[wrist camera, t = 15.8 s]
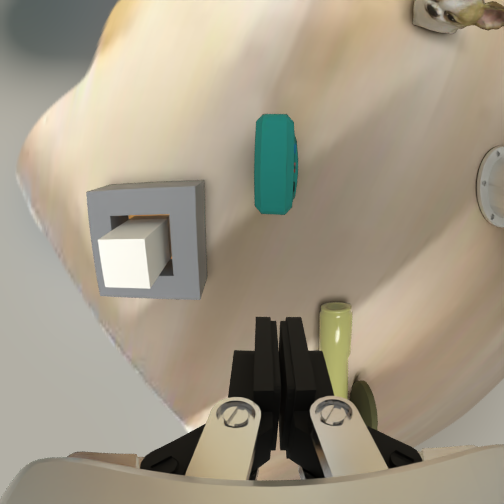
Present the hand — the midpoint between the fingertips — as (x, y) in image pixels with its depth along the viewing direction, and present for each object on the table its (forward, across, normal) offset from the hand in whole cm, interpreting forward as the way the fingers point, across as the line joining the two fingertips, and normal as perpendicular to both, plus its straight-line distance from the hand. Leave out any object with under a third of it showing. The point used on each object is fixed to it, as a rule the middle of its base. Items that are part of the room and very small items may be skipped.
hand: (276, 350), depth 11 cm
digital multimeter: (+27, -1, -6) cm, 28 cm away
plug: (+25, +13, +2) cm, 28 cm away
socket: (+26, +13, +2) cm, 30 cm away
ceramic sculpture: (+28, -22, -29) cm, 46 cm away
